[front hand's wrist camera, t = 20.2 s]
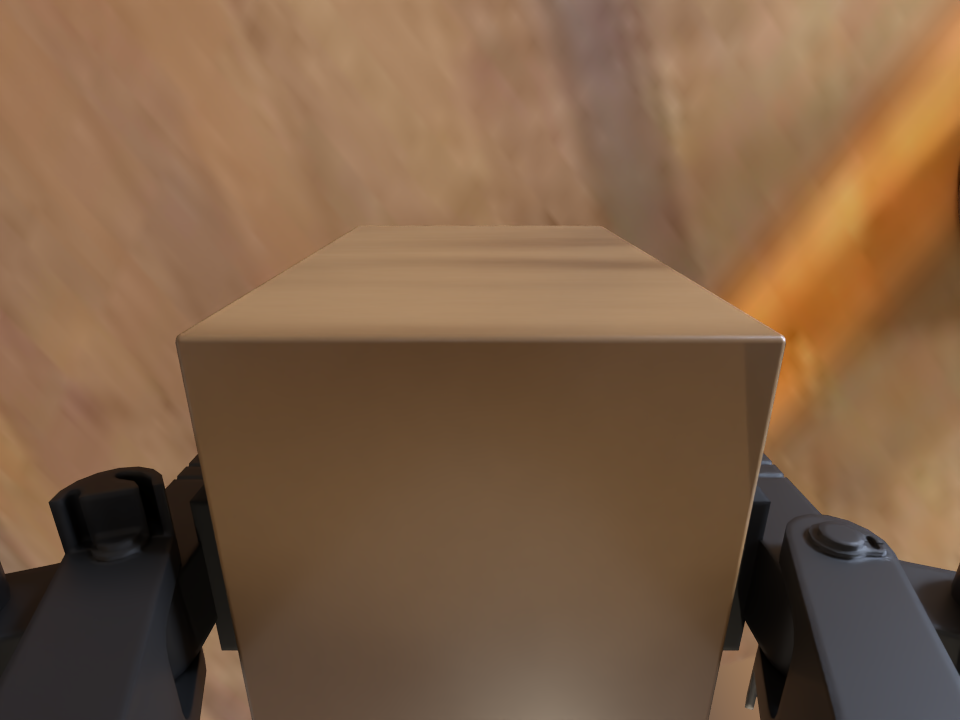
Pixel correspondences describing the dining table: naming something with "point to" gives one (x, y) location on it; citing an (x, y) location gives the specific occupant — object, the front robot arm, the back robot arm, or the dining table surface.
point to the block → (480, 476)
